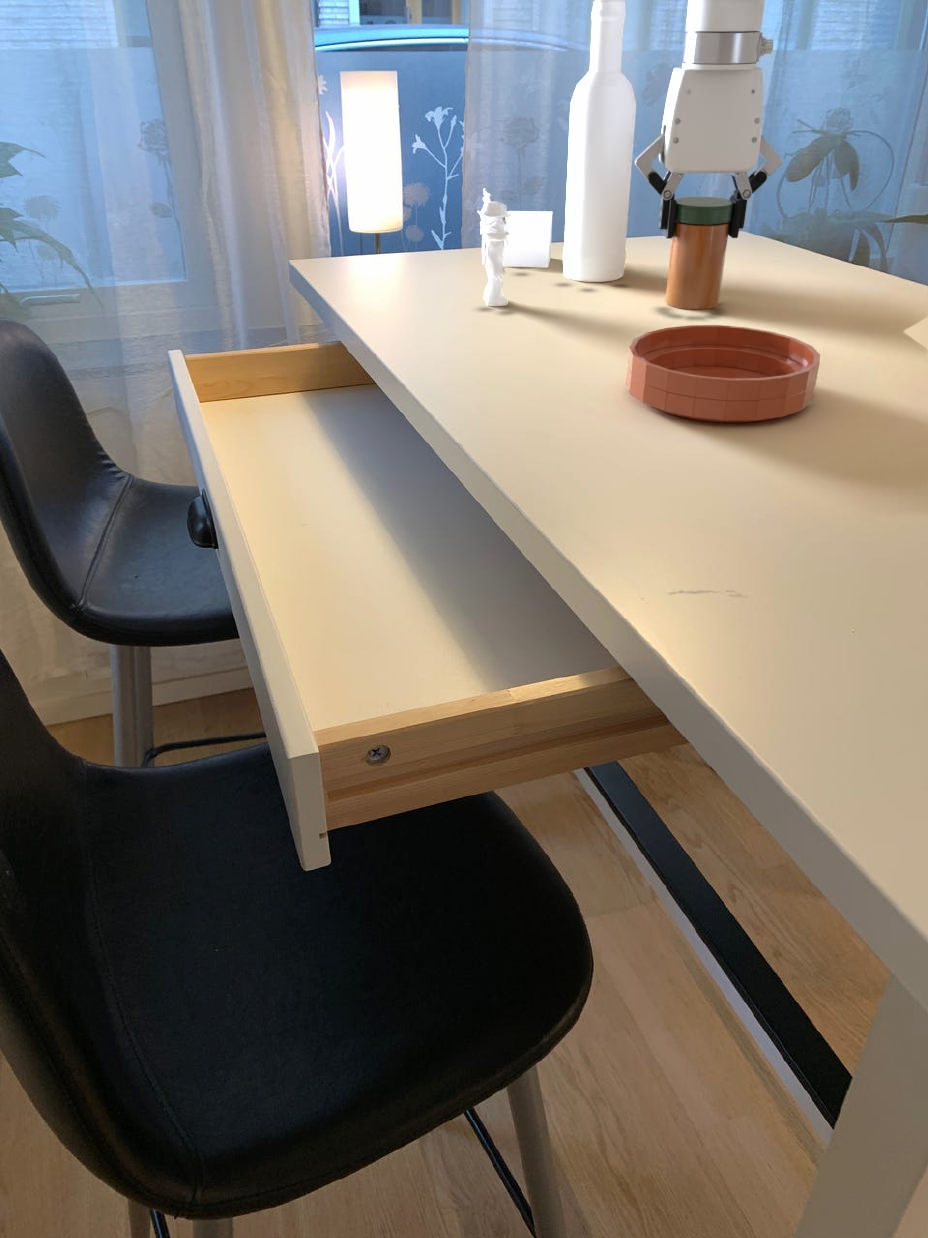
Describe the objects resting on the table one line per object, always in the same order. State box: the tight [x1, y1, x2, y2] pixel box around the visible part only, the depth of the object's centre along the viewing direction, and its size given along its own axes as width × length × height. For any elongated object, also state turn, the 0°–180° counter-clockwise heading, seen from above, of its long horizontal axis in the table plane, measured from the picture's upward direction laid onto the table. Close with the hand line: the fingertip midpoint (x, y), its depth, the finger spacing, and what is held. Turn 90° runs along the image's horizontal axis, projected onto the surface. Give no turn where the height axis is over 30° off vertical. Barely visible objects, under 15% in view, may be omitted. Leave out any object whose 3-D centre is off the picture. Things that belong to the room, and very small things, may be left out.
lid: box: [674, 196, 734, 224], centre depth 109 cm, size 7×6×2 cm
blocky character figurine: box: [477, 188, 512, 307], centre depth 112 cm, size 9×4×12 cm, turn 2°
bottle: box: [562, 0, 637, 283], centre depth 118 cm, size 8×8×30 cm
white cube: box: [503, 210, 553, 269], centre depth 132 cm, size 6×6×6 cm
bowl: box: [625, 324, 821, 424], centre depth 86 cm, size 16×16×4 cm
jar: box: [664, 221, 730, 311], centre depth 112 cm, size 6×6×11 cm
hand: (699, 234), depth 110 cm, fingers closed on lid, 6 cm apart
